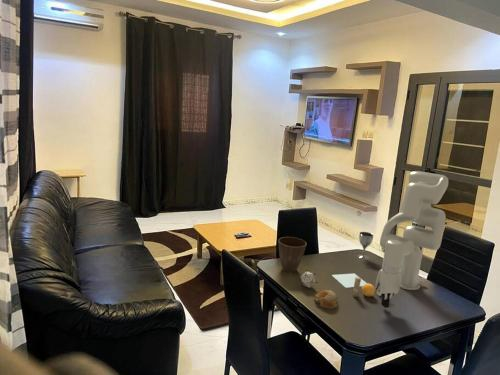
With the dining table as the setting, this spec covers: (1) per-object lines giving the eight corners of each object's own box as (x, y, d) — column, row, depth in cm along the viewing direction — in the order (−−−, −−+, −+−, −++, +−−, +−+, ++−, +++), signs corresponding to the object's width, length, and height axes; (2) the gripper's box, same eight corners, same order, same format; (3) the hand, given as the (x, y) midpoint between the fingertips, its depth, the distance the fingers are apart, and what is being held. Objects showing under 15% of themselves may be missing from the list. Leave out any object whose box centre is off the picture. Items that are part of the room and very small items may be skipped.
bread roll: (332, 317, 163) (342, 304, 160) (312, 305, 163) (321, 291, 161) (332, 306, 172) (341, 293, 170) (313, 294, 173) (322, 281, 171)
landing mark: (354, 273, 201) (354, 273, 201) (369, 285, 188) (369, 285, 188) (331, 275, 196) (331, 275, 196) (345, 287, 184) (345, 287, 183)
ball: (372, 281, 180) (378, 287, 174) (369, 292, 181) (375, 299, 175) (361, 280, 178) (367, 287, 173) (358, 292, 180) (364, 298, 174)
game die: (305, 295, 180) (300, 284, 174) (299, 282, 187) (294, 271, 181) (322, 288, 180) (317, 276, 174) (315, 275, 187) (310, 263, 181)
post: (356, 294, 178) (358, 277, 176) (359, 297, 175) (361, 279, 173) (351, 294, 177) (354, 277, 175) (354, 297, 175) (357, 279, 173)
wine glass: (361, 253, 231) (364, 231, 227) (372, 258, 225) (376, 234, 222) (353, 256, 226) (357, 233, 222) (364, 261, 220) (368, 237, 216)
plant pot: (286, 261, 210) (289, 234, 207) (308, 270, 201) (311, 242, 197) (270, 268, 199) (272, 240, 195) (293, 278, 189) (296, 249, 186)
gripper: (399, 263, 168) (393, 300, 172) (371, 265, 163) (365, 303, 167) (411, 270, 161) (404, 309, 165) (382, 272, 156) (375, 312, 160)
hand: (384, 306), depth 166 cm, fingers closed
